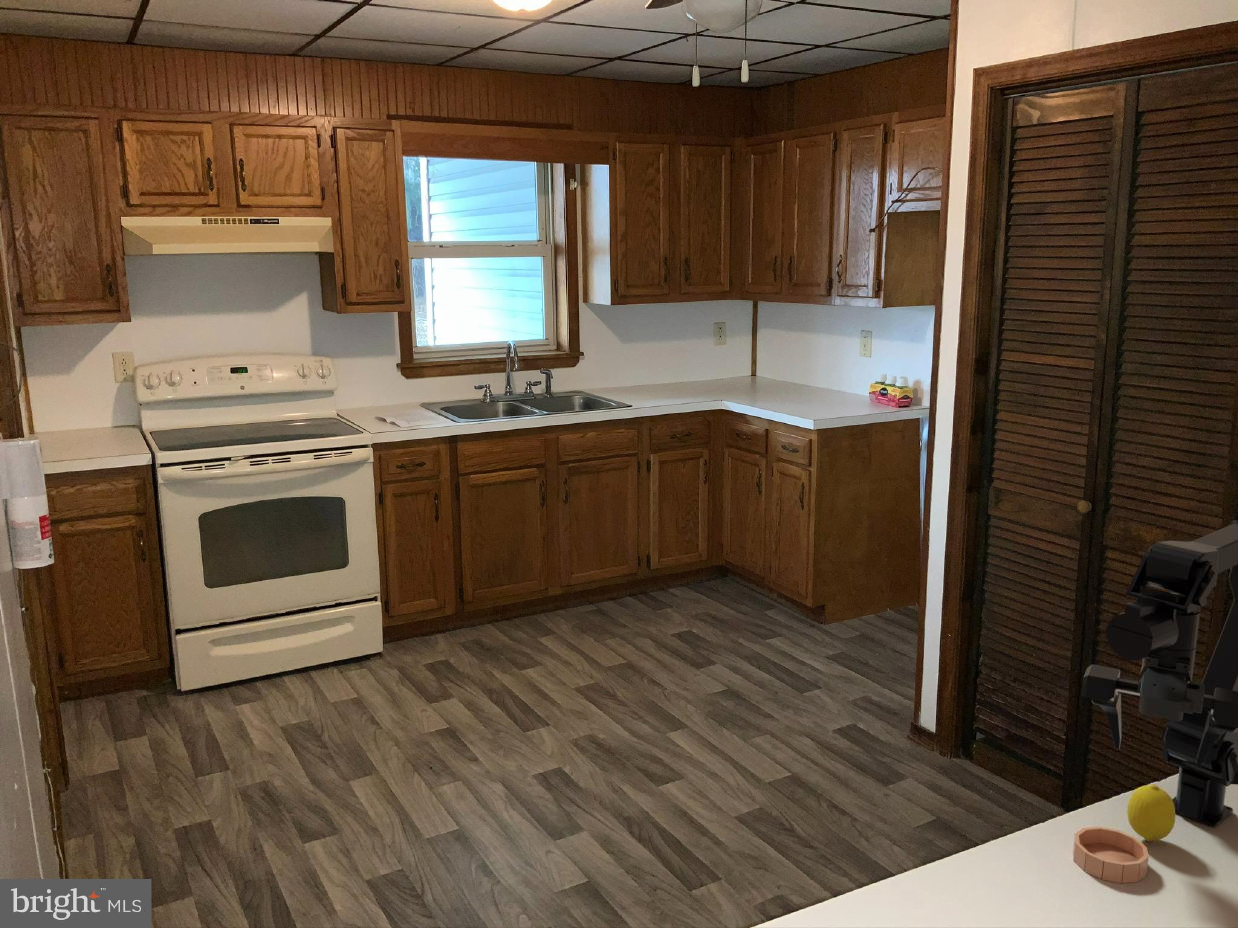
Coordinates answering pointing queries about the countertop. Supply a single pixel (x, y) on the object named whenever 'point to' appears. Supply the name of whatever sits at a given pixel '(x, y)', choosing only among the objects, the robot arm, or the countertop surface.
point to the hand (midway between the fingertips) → (1157, 756)
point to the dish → (1110, 854)
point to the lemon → (1151, 812)
